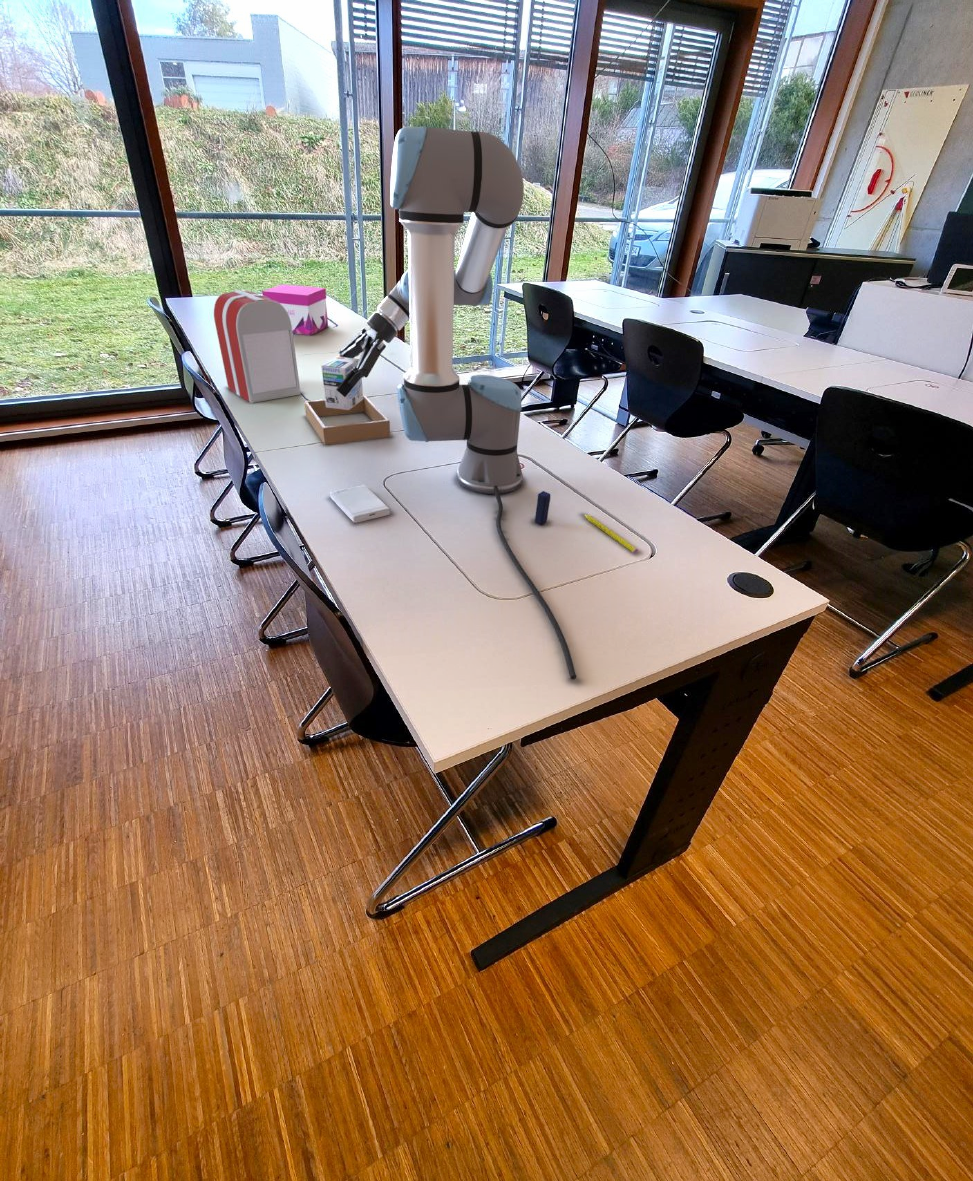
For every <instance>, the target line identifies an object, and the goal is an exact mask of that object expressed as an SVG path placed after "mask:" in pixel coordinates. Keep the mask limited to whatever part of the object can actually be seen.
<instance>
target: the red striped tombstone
mask: <svg viewBox="0 0 973 1181" xmlns="http://www.w3.org/2000/svg"><path fill="white" fill-rule="evenodd" d="M213 320H214V326H215V331H216V336H217V340H218V345H219V351H220V356H221V359H222V365H223V371H224V374H225V380H226V384H227V389H229V390H231V391H232V392H233V393H235V394H236V395H238V396H239V397H241V398H242V399H244V400H245V401H247V402H248V403H250V404H253V403H259V402H265V401H266V402H267V401H270V400H276V399H282V398H288V397H293V396H299V395H301V394H302V393H301V386H300V376H299V370H298V363H297V362H298V361H297V357H296V355H297V354H296V348H295V340H294V339H295V338H294V333H293V331H292V325H291V320H290V317H289V315H288V313H287V311H286V309H285V308H284V307H283V306H282V305H281V304H280V303H278V302H276V301H274V300H271V299H270V298H268V297H266V296H263V294H259V293H256V292H253V291H247V290H246V291H245V290H241V289H237V290H236V289H235V290H234V289H233V291H229V292H224V293H221V294H220V295H218V297H217V298H216V300H215V302H214V306H213Z"/></svg>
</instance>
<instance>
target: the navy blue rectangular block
mask: <svg viewBox="0 0 973 1181" xmlns="http://www.w3.org/2000/svg"><path fill="white" fill-rule="evenodd" d="M536 501H537V502H536V506H535V515H534V523H535V524H537V525H539V526H543V525H545V524H546V523H547V521H548V517H549V508H550V502H551V493H550V492H547V491H545V490H542V491H541V492H539V493H537V500H536Z"/></svg>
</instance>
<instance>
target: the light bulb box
mask: <svg viewBox="0 0 973 1181" xmlns="http://www.w3.org/2000/svg"><path fill="white" fill-rule="evenodd" d="M359 359H360V358H356V357H354V358H347V357H340V356H339V355H337V356H335V357H334V358H332V359H331V360H329V361H327V362H325V363H324V364H322V365H321V374H322V381H323V382H322V383H323V393H324V399H325V403H326V407H327V408H335V409H343V410H350V409H351V408H352V407H354V406H355V405H356V404H358V403H359V402H360V401H362V400H363V396H364V392H363V378H362V377H361V379H360V380H359V381H358V382H357V383H356V385H355V386H354V387H353V388H352V390H351V391H350V392H349V393H348V394H347V396H346V397H344V396H343V395H342V394H340V393H339V392H338V391H337V390H336V389H337V388H338V387H339V385H340V384H341V383H342V382H343V381H344V379H345V378H346V377H347V376H348V374H349V373H350V372H351V371H352V370H353V369H352V368H353V367H356V366H357V363H358V361H359ZM353 371H354V370H353Z"/></svg>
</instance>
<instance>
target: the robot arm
mask: <svg viewBox="0 0 973 1181" xmlns="http://www.w3.org/2000/svg"><path fill="white" fill-rule="evenodd" d="M395 135H396V136H395V139H394V143H393V152H392V160H391V171H390V172H391V173H390V197H389V201H390V202H389V203H390V206H391V208H392V209H395V210H398V219H399V220H398V221H399V223H401V225H402V226H403V227H404V228H405V230H406V232H407V245H408V246H407V250H408V269H407V270H406V271H404V273H403V274H402V276H401V278H400V279H399V281H398V282H397V283H396V285H395V286H394V287H393V289H392V290H391V291H390V292H389V293H388V295H386V296H385V298H384V299H383V300H382V301H381V303H380V304H379V305H378V306H377V307H376V310H377V311H374V312H373V313H372V314H371V316H369V318H368V319H367V320H366V324H367V325H368V326H369V329H366V328H365V327H363V328H362V329H361V330H360V331H359V333H358V334H357V335H355V336H354V337H353V338H352V339H351V340H350V341H349V342H347V343H346V344H345V345H344V346H343V347H342V348H341V349H340V350H339V351H338V354H339V355H338V356H340V357H347V358H356V357H358V356H359V358H358V359H359V361H358V363H357V366H356V367H353V368H352V369H353V370H354V371H353V370H352V371H351V372H350V373H349V374H348V376H347V377H346V378H345V379H344V381H343V382H342V383H341V384H340V385H339V387H338V388H337V389H336V390H337V391H338V392H339V393H340V394H342V395H343V396H344V397H346V396H347V394H348V393H349V392H350V391H351V390H352V388H353V387H354V386H355V385H356V383H357V382H358V381H359V380H360V379H361V377H362V379H364V378H368V377H369V375H370V373H371V372H372V370H373V368H374V366H375V365H376V363H377V362H378V359H379V357H380V356H381V354H382V353H383V352H384V351H385V349H386V347H387V345H386V344H385V343H387V344H390V343H391V342H392V341H393V340H394V339H395V337H396V336H398V331H401V330H402V329H403V327H404V326H405V327H406V326H407V325H408V323H407V322H408V321H409V342H410V343H409V344H410V345H409V346H410V368H409V369H408V370H407V371H406V372H405V373H404V374H403V383H400V384H398V385H397V386H396V391H397V400H398V406H399V411H400V416H401V423H402V427H403V431H404V432H403V433H404V435H405V437H406V438H407V439H408V440H410V441H413V442H425V443H428V442H446V441H447V442H450V441H466V446H465V450H464V453H463V456H462V458H461V460H460V464H459V466H458V468H457V482H458V483H459V485H460V486H462V487H463V488H464V489H466V490H468V491H471V492H475V493H477V494H483V495H484V494H485V495H495V499H496V502H497V506H498V511H497V512H498V513H497V515H496V521H495V522H496V524H495V525H496V531H497V534H498V535H499V538H500V540H501V542H502V545H503V547H504V549H505V551H506V553H507V555H508V556H509V558H510V560H511V561H512V563H513V565H514V566H515V568H516V569H517V571H518V572H519V574H520V575H521V577H522V578H523V579H524V581H525V583H526V584H527V585H528V587H529V589H530V590H531V591H532V593H533V595H534V596H535V597H536V599H537V601H538V602H539V604H540V606H541V607H542V608H543V611H544V612H545V614H546V616H547V618H548V619H549V621H550V623H551V626H552V627H553V629H554V631H555V633H556V636H557V638H558V641H559V643H560V646H561V650H562V652H563V656H564V660H565V664H566V667H567V671H568V675H569V677H570V680H572V681H574V680H576V679H577V673H576V669H575V666H574V662H573V659H572V654H571V652H570V648H569V646H568V643H567V641H566V638H565V636H564V633H563V630H562V629H561V627H560V625H559V623H558V621H557V618H556V617H555V615H554V613H553V612H552V610H551V608H550V607H549V605H548V603H547V601H546V600H545V598H544V597H543V596H542V594H541V593H540V591H539V589H538V588H537V587H536V585H535V583H534V581H533V580H532V579H531V578H530V576H529V575H528V574H527V572H526V571H525V569H524V568H523V566H522V564H521V563H520V562H519V560H518V559H517V556H516V555H515V554H514V552H513V550H512V549H511V547H510V545H509V543H508V540H507V539H506V536H505V534H504V531H503V528H502V517H503V512H504V511H503V510H504V506H503V501H502V498H501V495H502V494H504V495H505V494H507V493H511V492H514V491H516V490H518V489H520V488H521V486H522V483H523V470H522V466H521V462H520V458H519V454H518V442H519V433H520V422H521V411H522V410H523V407H522V391H521V388H520V387H519V386H518V385H517V384H516V383H515V382H513V381H512V380H508V379H506V378H502V377H499V376H495V375H489V374H476V375H471V376H470V377H469V378H468V380H467V384H461V383H460V380H461V379H460V376H459V374H458V373H457V372H456V371H455V370H454V368H453V367H454V366H453V365H454V364H453V363H454V361H453V360H454V358H453V357H454V310H455V309H454V307H455V306H470V307H471V306H472V307H479V306H488V305H490V303H491V301H492V299H493V298H492V296H493V290H494V283H493V277H492V274H491V271H492V268H493V266H494V263H495V261H496V259H497V256H498V254H499V252H500V251H499V250H500V248H501V245H502V243H503V240H504V238H505V235H506V233H507V230H508V229H509V227H510V226H512V225H513V224H514V223H515V222H516V221H517V219H518V217H519V214H520V212H521V209H522V207H523V202H524V196H525V185H524V177H523V173H522V171H521V167H520V165H519V162H518V160H517V158H516V156H515V154H514V153H513V151H512V150H511V149H510V148H509V146H508V145H507V144H506V143H505V142H504V141H503V140H501V139H500V138H499V137H497V136H495V135H494V134H491V133H489V132H486V131H481V130H480V131H479V130H477V131H470V130H461V129H451V128H443V127H442V128H441V127H433V126H425V125H423V126H404V127H402V128H400V129H399V130H398V131H397V134H395ZM465 213H471V216H470V219H469V223H468V226H467V229H466V233H465V238H464V241H463V245H462V248H461V253H460V256H459V260H458V263H457V267H456V269H455V250H456V248H455V246H456V244H455V243H456V235H457V233H458V231H459V230H460V229H462V227H463V226H464V220H465V219H464V218H465ZM384 342H385V343H384Z"/></svg>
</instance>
